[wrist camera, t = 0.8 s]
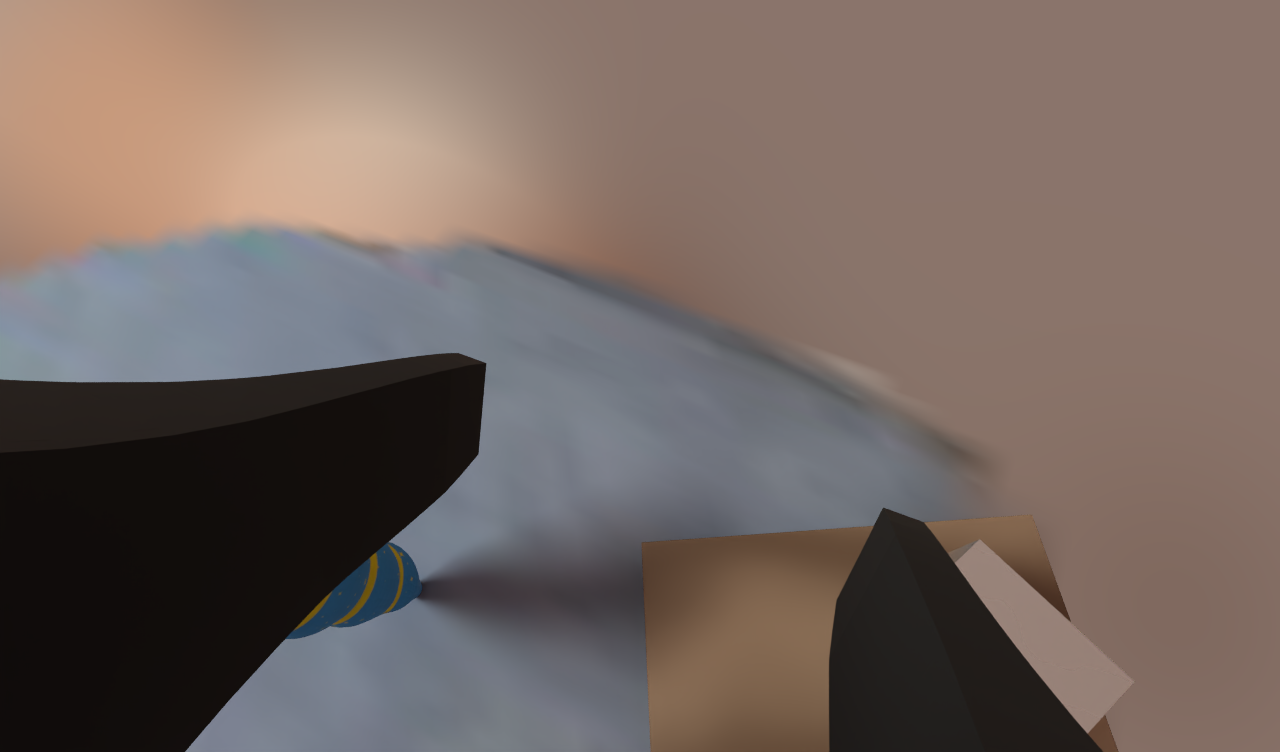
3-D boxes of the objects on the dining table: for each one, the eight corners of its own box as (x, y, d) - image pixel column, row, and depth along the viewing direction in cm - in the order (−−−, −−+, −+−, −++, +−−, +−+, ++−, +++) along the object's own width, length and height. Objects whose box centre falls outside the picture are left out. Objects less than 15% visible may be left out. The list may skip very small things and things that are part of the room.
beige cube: (1043, 673, 20) (1142, 682, 15) (948, 773, 19) (1021, 815, 14) (929, 561, 22) (983, 537, 17) (839, 645, 21) (870, 645, 16)
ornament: (345, 611, 26) (-59, 573, 13) (410, 513, 28) (115, 388, 14) (427, 668, 24) (62, 695, 11) (491, 560, 26) (241, 469, 13)
